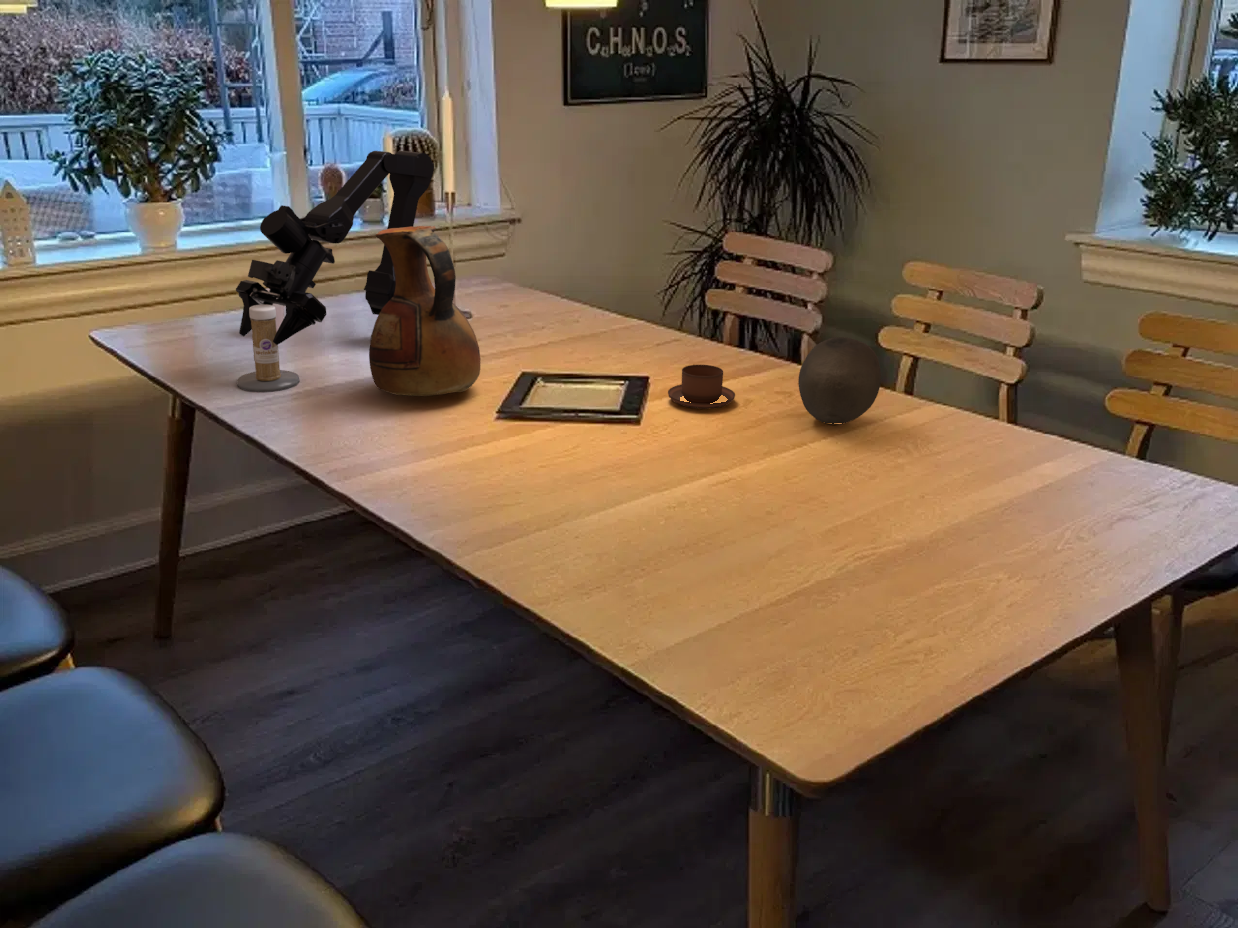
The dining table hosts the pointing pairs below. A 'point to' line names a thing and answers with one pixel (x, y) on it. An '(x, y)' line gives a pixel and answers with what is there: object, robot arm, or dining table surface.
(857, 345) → the dark charcoal ball
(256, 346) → the sprinkles bottle
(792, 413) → the dining table surface
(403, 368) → the ceramic pitcher
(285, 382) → the slate gray plate
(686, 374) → the cup and saucer
